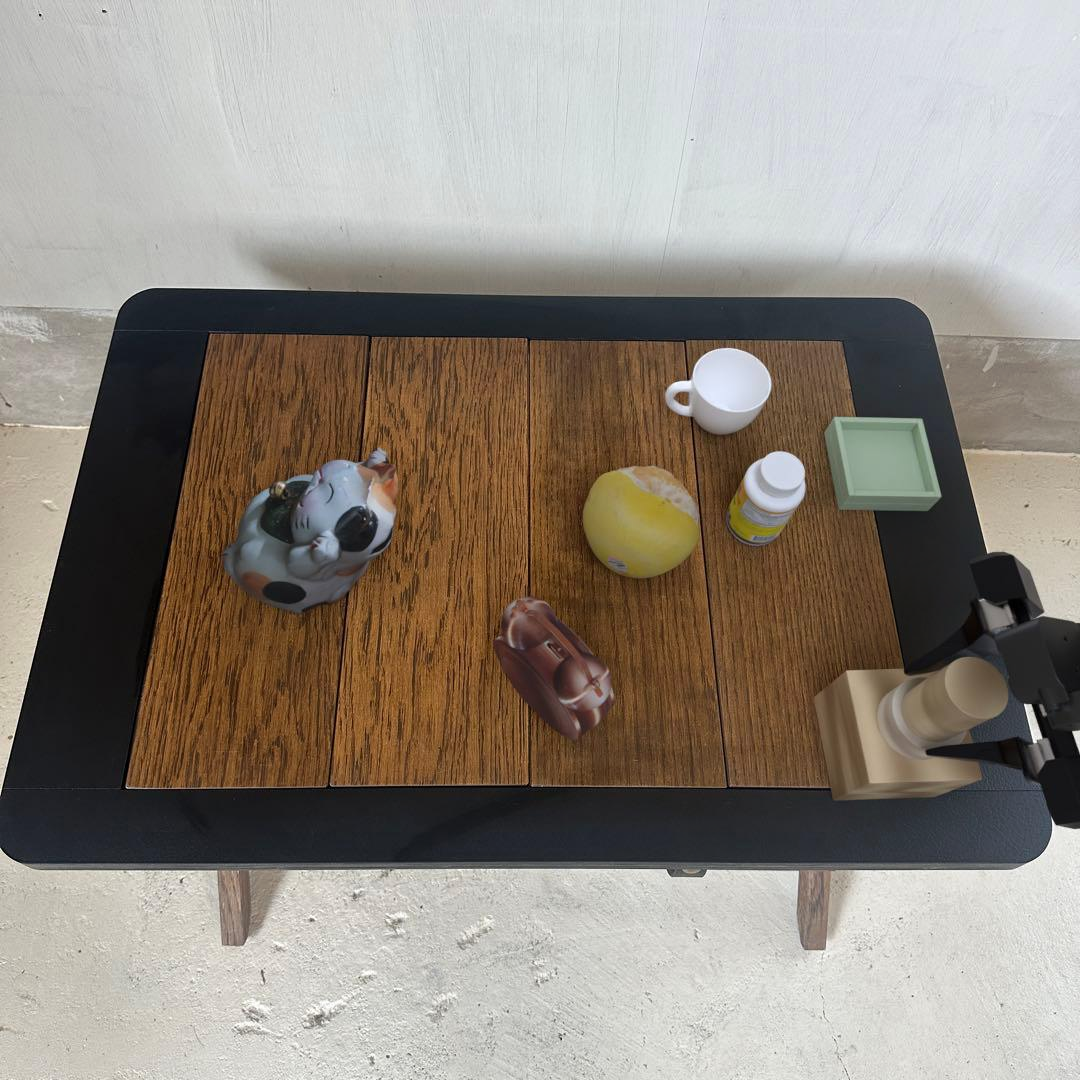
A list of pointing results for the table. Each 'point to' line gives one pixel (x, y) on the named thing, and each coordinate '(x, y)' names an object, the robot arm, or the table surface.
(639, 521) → the fruit
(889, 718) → the tan cylindrical piece
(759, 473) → the supplement bottle
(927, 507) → the mint green tray
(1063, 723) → the robot arm
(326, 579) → the lucky cat figurine
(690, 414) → the cup
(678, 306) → the table surface
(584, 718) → the alarm clock
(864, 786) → the stand
